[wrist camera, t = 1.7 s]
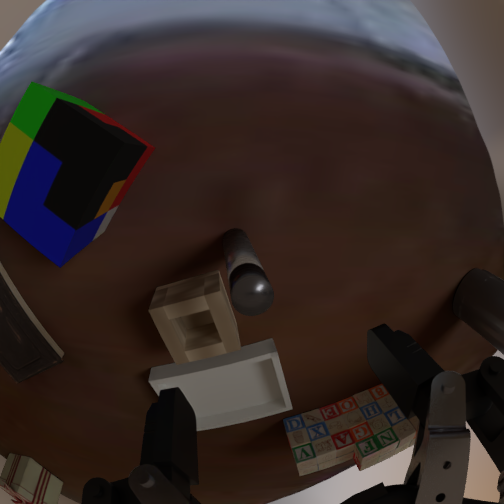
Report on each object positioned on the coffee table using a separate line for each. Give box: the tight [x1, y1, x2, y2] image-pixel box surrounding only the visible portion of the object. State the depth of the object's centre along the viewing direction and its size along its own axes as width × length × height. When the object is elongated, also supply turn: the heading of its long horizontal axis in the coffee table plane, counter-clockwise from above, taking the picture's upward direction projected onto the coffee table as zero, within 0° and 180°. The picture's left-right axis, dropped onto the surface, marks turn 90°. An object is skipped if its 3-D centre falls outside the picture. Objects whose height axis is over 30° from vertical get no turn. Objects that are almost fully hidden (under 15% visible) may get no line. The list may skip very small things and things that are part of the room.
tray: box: [149, 338, 293, 431], centre depth 33 cm, size 16×12×3 cm
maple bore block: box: [148, 270, 241, 365], centre depth 28 cm, size 7×7×5 cm
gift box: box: [0, 453, 63, 504], centre depth 33 cm, size 17×18×17 cm
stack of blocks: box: [283, 384, 419, 476], centre depth 35 cm, size 21×6×12 cm, turn 102°
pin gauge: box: [222, 228, 274, 316], centre depth 22 cm, size 3×3×12 cm
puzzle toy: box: [0, 82, 155, 268], centre depth 19 cm, size 10×10×10 cm
